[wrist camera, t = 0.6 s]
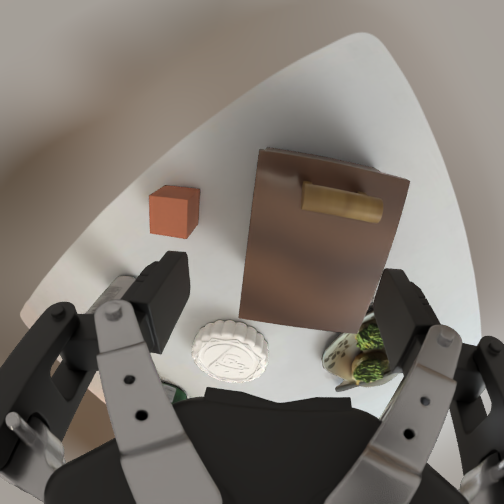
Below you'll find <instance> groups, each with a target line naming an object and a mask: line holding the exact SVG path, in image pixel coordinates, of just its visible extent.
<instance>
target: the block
mask: <svg viewBox="0 0 504 504" xmlns="http://www.w3.org/2000/svg"><path fill="white" fill-rule="evenodd" d="M199 199H200V189H196V188H187V187H178V186H168V185H165V186H163V187H162V188H160V189H158V190H157V191H155V192H154V193H152V194H151V195H149V216H150V233H152V234H158V235H164V236H171V237H177V238H183V239H187V238H188V237H189V235H190V234H191V233H192V231H193V230H194V229H195V227H196V226H197V225H198V218H199Z"/></svg>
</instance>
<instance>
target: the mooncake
mask: <svg viewBox="0 0 504 504" xmlns="http://www.w3.org/2000/svg"><path fill="white" fill-rule="evenodd" d="M263 339H264V338H263V335H262V334H260V333H257V332H256V330H255V329H254V328H253V327H247V326H246V324H244V323H242V322H238V323H235V322H234V321H232V320H227V321H225V322H224V321H221V320H218V321H216V322H215V323H208V324H207V325H206V326H205V327H203V328H201V329H200V330H199V333H198V334H197V335H196V337H195V340H194V343H193V345H192V350H193V351H192V357H193V358H194V362H195V364H196V365H198V366H199V368H200V370H201V371H203V372H206V373H207V375H208V376H210V377H215V378H216V379H217V380H220V381H226V382H229V383H233V382H237V383H243V382H244V381H252V380H253V379H254V378H258V377H260V375H261V373H263V372H265V370H266V366H267V364H268V356H269V350H268V343H267V342H266V341H265V340H263Z"/></svg>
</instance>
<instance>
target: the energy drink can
mask: <svg viewBox="0 0 504 504" xmlns="http://www.w3.org/2000/svg"><path fill="white" fill-rule="evenodd" d="M135 280H136V279H135V278H133V277H131V276H120V277H117V278H116V279H115V280H114V281H113V282H112V283H111V284H110V286H109V287H108V288H107V289H106V290H105V291H104V292H103V293H102V295H101V296H100V297H99V298H98V299H97V300H96V302H95V303H94V304H93V305H92V306H91V307H90V309H89V310H88V311H87V312H86V313H85V314H93V313H95V311H96V309H97V308H98V307H99V306H100V305H102V304H103V303H105V302H107V301H110V300H116V299H121V297H122V296H123V295H124V293H125V292H126V291H127V290H128V288H129V287H130V286H131V285H132V283H133V282H134V281H135Z"/></svg>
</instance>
